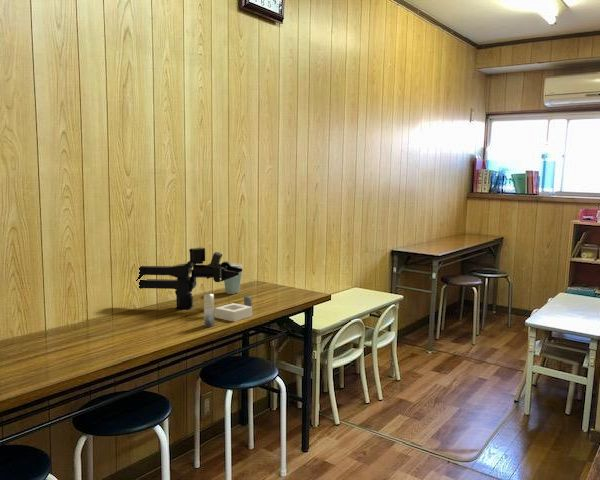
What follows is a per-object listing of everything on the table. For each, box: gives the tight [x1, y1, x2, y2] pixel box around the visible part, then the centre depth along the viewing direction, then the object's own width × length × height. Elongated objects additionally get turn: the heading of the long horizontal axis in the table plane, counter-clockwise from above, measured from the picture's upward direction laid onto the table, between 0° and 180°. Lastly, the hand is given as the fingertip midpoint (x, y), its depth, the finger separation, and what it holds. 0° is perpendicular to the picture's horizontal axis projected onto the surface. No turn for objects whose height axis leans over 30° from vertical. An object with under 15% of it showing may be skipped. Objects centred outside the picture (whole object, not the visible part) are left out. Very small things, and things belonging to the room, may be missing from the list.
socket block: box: [214, 302, 253, 322], centre depth 221 cm, size 11×11×4 cm
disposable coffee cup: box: [223, 262, 244, 295], centre depth 267 cm, size 11×11×15 cm
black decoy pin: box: [243, 295, 253, 308], centre depth 232 cm, size 3×3×6 cm
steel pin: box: [203, 292, 215, 328], centre depth 207 cm, size 4×4×12 cm
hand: (240, 271), depth 233 cm, fingers open, 9 cm apart
